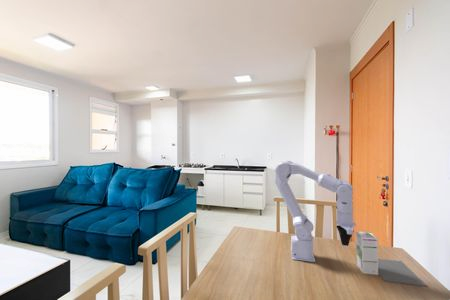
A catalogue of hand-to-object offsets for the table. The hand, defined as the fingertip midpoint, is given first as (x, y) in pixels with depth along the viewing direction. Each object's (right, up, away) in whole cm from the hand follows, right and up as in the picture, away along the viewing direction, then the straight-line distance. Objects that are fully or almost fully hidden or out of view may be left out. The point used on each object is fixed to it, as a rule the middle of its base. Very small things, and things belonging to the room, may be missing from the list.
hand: (344, 244), depth 85 cm
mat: (+18, -9, -3) cm, 20 cm away
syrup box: (+8, -10, -2) cm, 12 cm away
